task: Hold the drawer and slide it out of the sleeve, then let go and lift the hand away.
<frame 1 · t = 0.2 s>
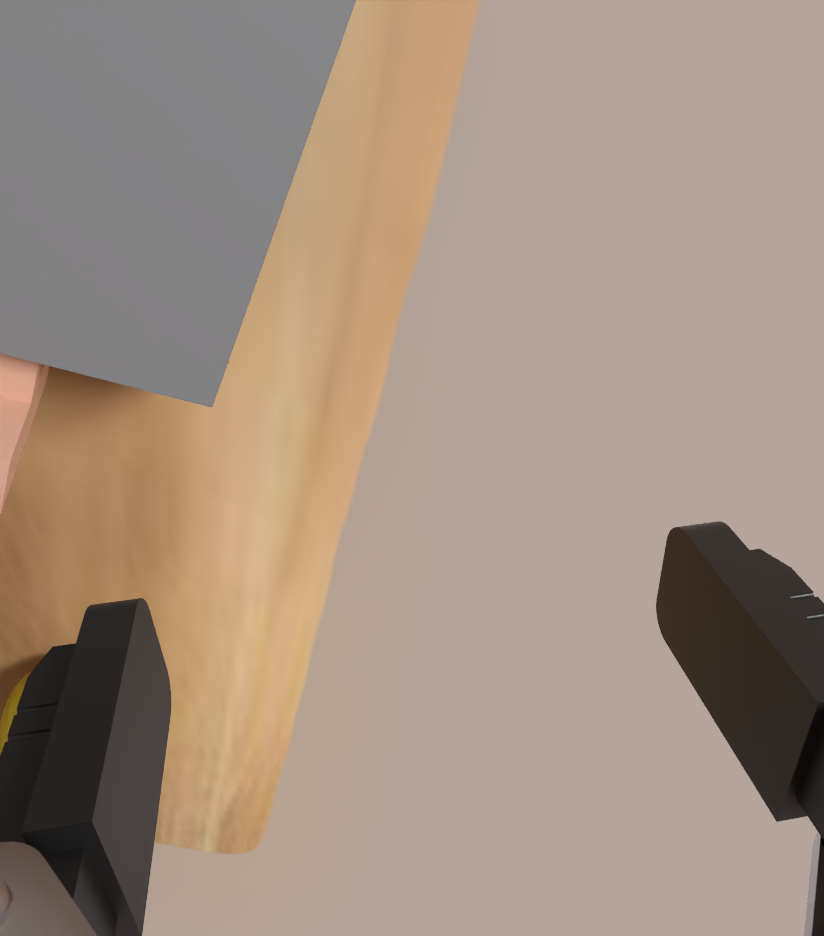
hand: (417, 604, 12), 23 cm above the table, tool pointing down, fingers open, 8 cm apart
drawer: (55, 97, 22), point 5 cm above the table, slide at 0.0 cm
lemon: (70, 658, 45), on the table
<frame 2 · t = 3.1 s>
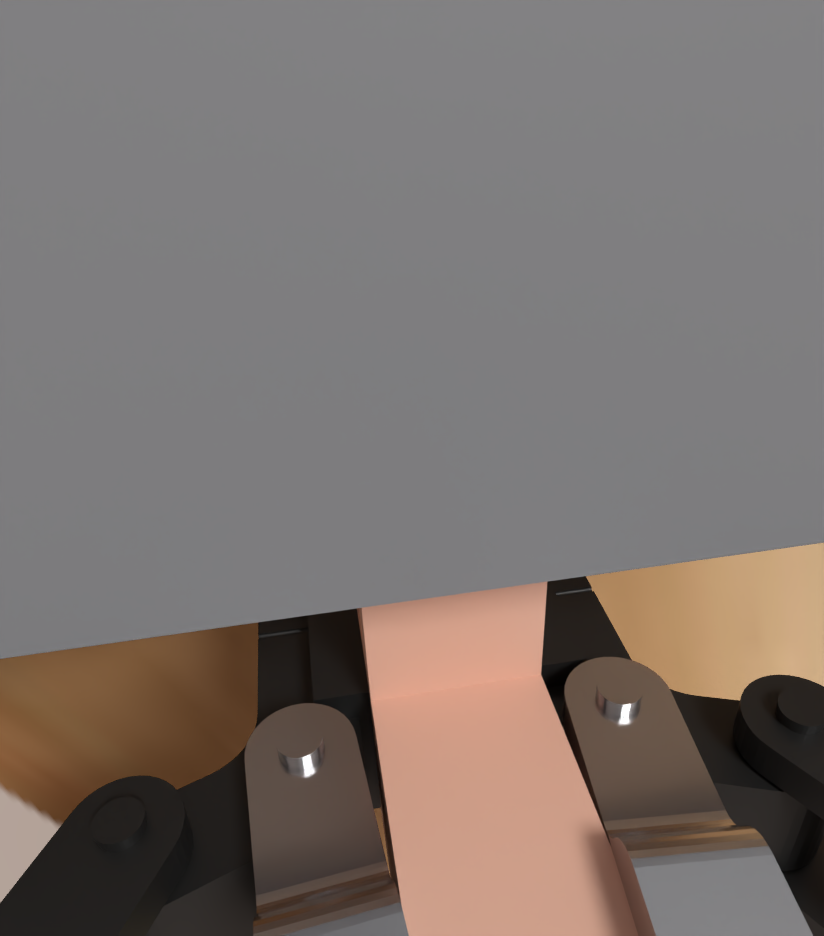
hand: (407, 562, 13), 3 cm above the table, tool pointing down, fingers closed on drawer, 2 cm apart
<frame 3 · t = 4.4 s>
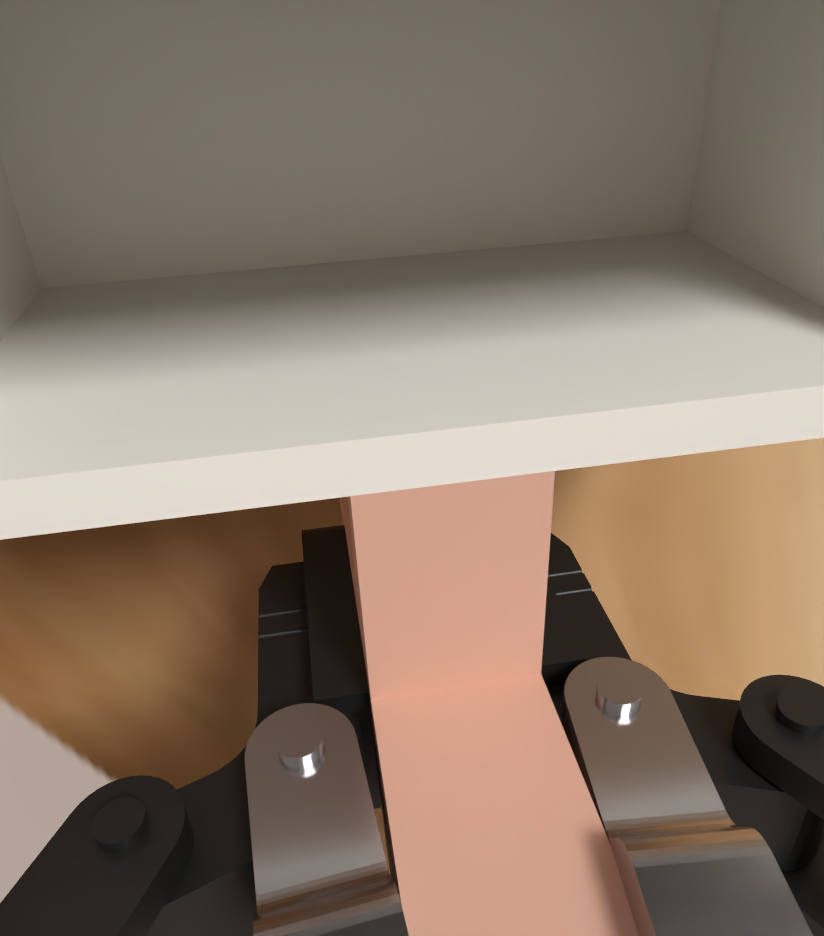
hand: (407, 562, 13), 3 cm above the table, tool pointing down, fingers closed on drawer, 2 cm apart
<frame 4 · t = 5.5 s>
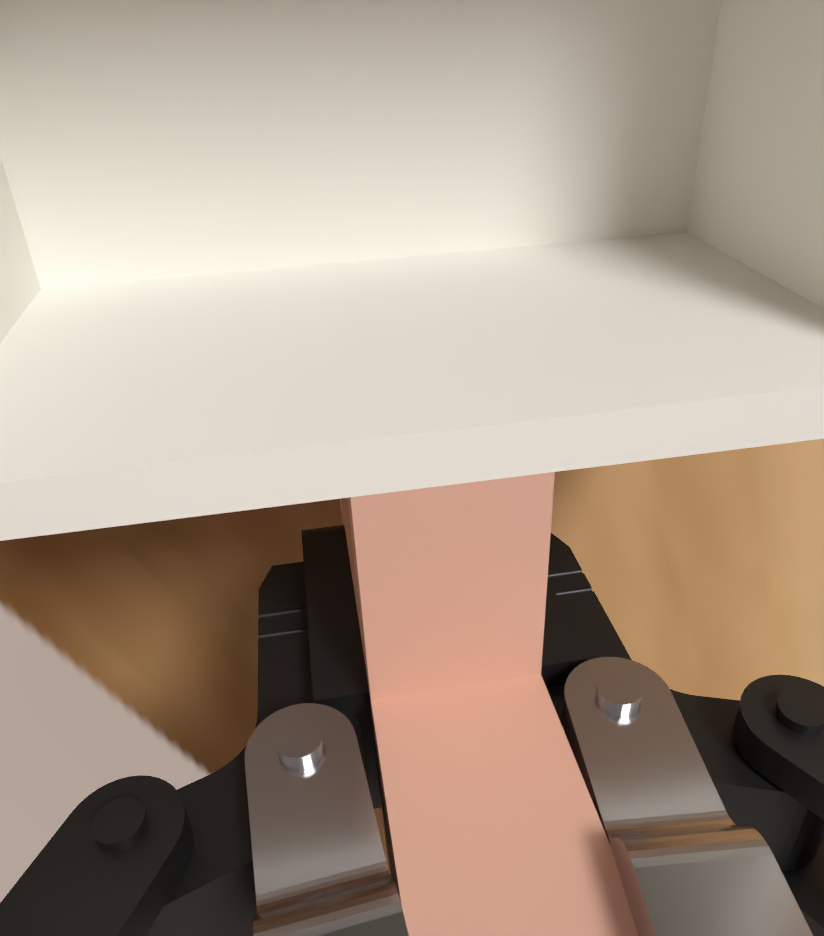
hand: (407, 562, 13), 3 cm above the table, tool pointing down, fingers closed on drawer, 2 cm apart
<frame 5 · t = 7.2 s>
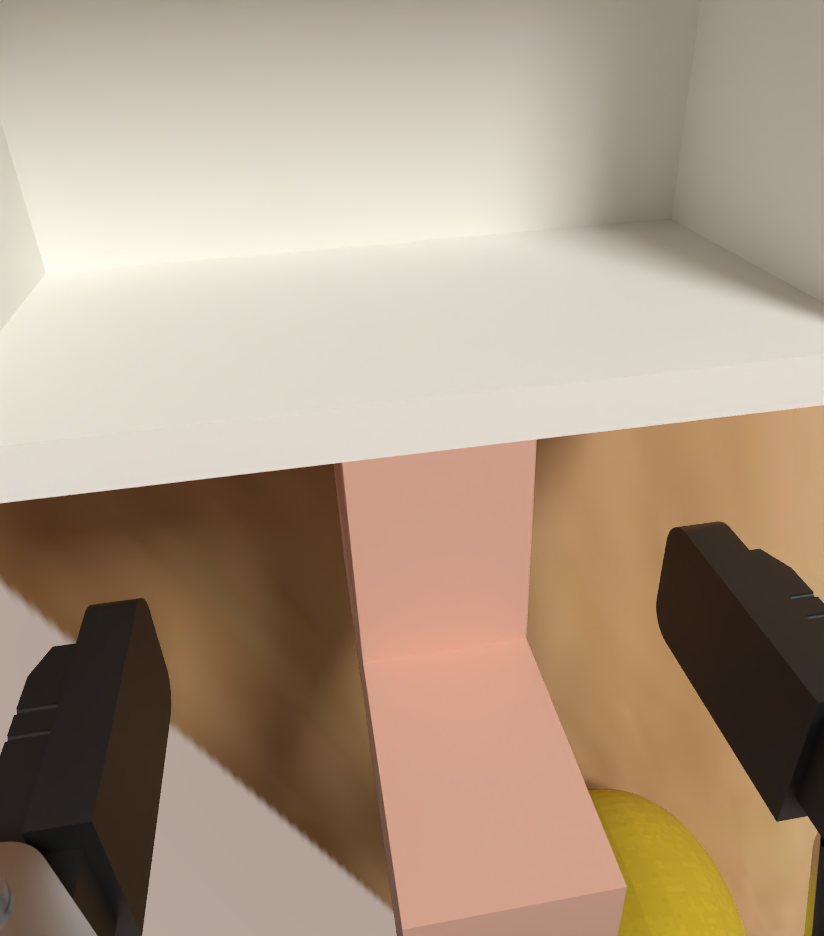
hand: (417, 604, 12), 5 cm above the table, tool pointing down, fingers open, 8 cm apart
lemon: (570, 784, 23), on the table
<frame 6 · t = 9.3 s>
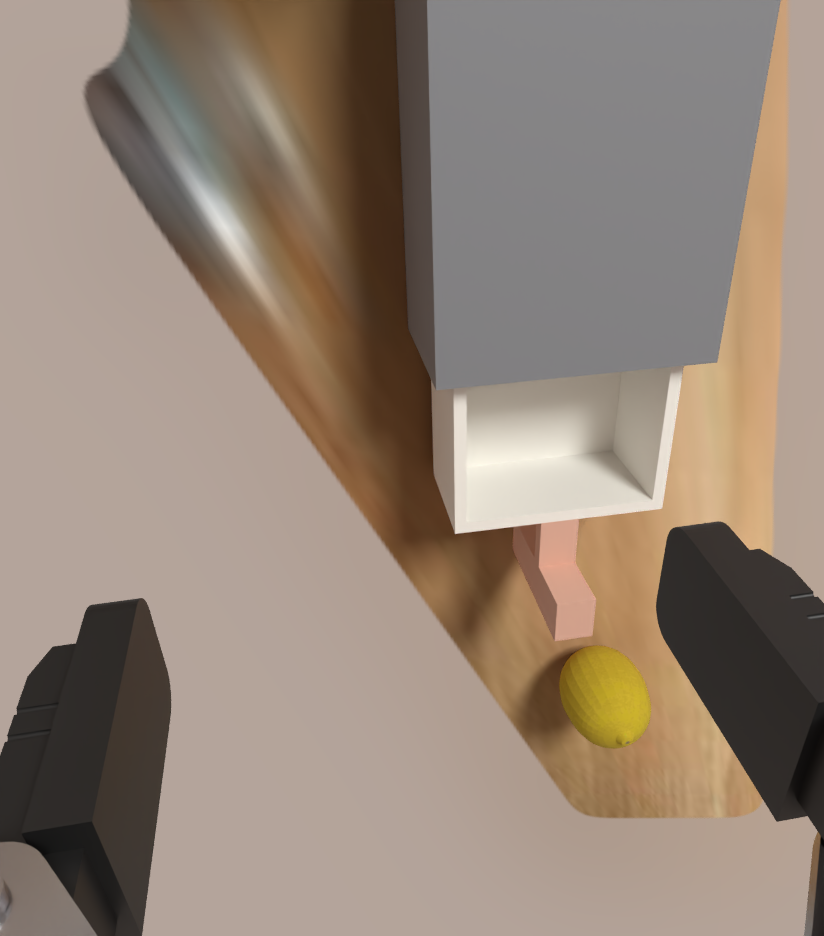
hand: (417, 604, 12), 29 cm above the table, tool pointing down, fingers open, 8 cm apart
sleeve: (536, 112, 36), on the table
drawer: (559, 389, 37), point 5 cm above the table, slide at 8.9 cm
lemon: (582, 650, 54), on the table
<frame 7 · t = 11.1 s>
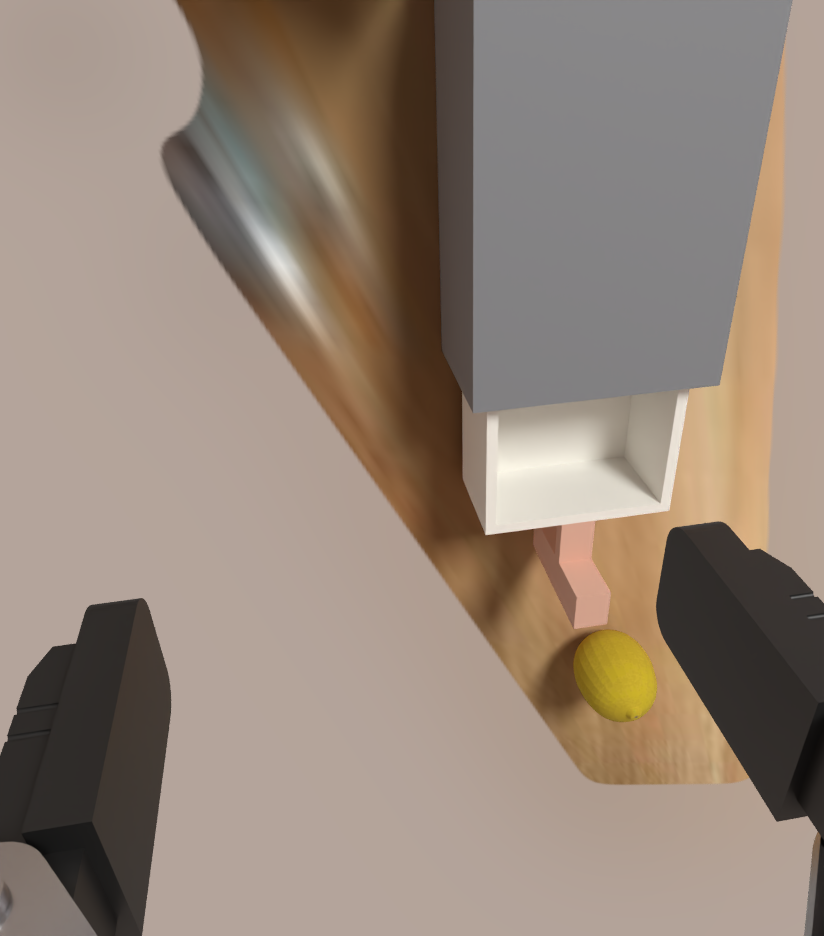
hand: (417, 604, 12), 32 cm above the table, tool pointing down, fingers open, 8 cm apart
sleeve: (559, 160, 40), on the table
drawer: (578, 407, 42), point 5 cm above the table, slide at 8.9 cm
lemon: (593, 633, 60), on the table
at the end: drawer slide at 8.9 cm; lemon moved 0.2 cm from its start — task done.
